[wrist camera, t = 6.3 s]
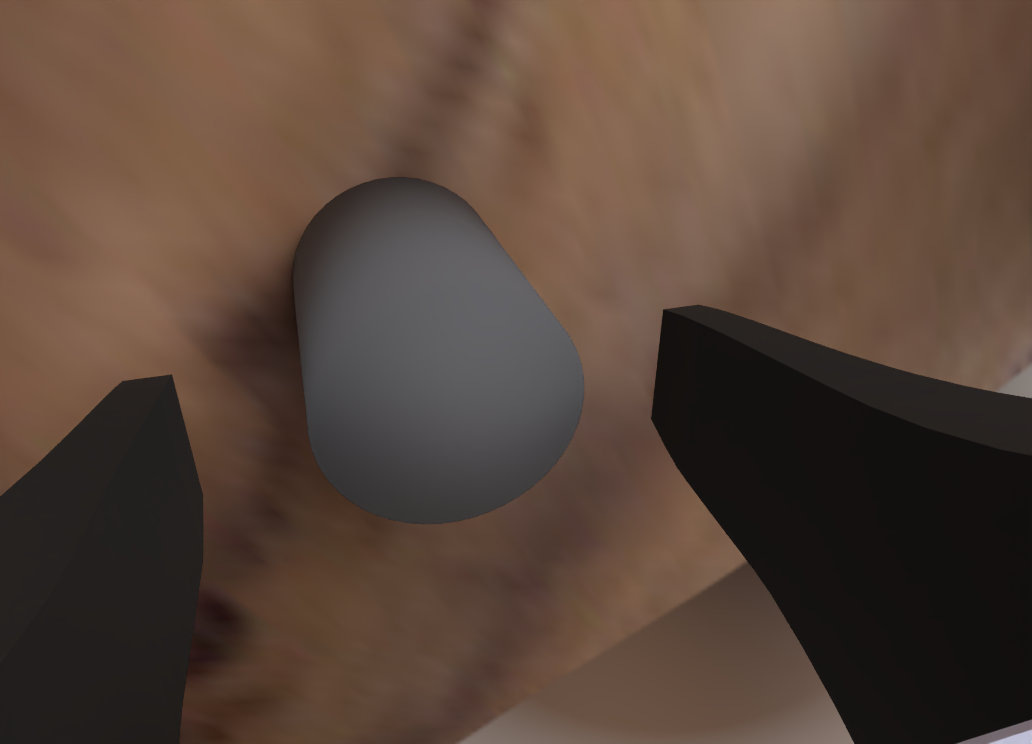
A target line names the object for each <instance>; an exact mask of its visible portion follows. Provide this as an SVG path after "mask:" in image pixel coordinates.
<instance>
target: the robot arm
mask: <svg viewBox="0 0 1032 744" xmlns="http://www.w3.org/2000/svg"><path fill="white" fill-rule="evenodd" d="M651 420H652V422H653V423H654V425H655V427H656V429H657V431H658V433H659V435H660V437H661V439H662V441H663V443H664V445H665V447H666V449H667V450H668V452H669V454H670V456H671V458H672V459H673V461H674V463H675V465H676V466H677V468H678V469H679V471H680V472H681V474H682V475H683V476H684V478H685V479H686V481H687V482H688V483H689V485H690V486H691V487H692V489H693V490H694V491H695V493H696V494H697V495H698V497H699V498H700V499H701V501H702V502H703V503H704V505H705V506H706V507H707V509H708V510H709V511H710V513H711V514H712V515H713V517H714V518H715V519H716V521H717V522H718V523H719V524H720V526H721V527H722V528H723V530H724V531H725V532H726V534H727V535H728V536H729V538H730V539H731V540H732V542H733V543H734V544H735V545H736V547H737V548H738V549H739V551H740V552H741V553H742V555H743V556H744V557H745V559H746V560H747V561H748V563H749V564H750V565H751V566H752V568H753V569H754V570H755V572H756V573H757V575H758V576H759V578H760V579H761V581H762V582H763V583H764V585H765V586H766V588H767V589H768V591H769V592H770V594H771V595H772V597H773V598H774V600H775V602H776V603H777V605H778V607H779V608H780V610H781V612H782V613H783V615H784V617H785V618H786V620H787V622H788V623H789V625H790V627H791V629H792V630H793V632H794V633H795V635H796V637H797V639H798V640H799V642H800V644H801V645H802V647H803V649H804V650H805V652H806V654H807V656H808V658H809V660H810V661H811V663H812V665H813V667H814V669H815V670H816V672H817V674H818V676H819V678H820V679H821V681H822V683H823V685H824V686H825V688H826V690H827V692H828V694H829V696H830V697H831V699H832V701H833V703H834V705H835V706H836V708H837V710H838V712H839V714H840V716H841V718H842V720H843V722H844V724H845V726H846V728H847V730H848V732H849V734H850V736H851V738H852V740H853V742H854V744H1032V398H1026V397H1020V396H1014V395H1009V394H1003V393H997V392H992V391H987V390H982V389H977V388H972V387H967V386H963V385H958V384H954V383H950V382H946V381H942V380H938V379H933V378H929V377H925V376H921V375H917V374H913V373H909V372H906V371H902V370H898V369H895V368H891V367H888V366H885V365H881V364H878V363H875V362H872V361H869V360H865V359H862V358H859V357H856V356H852V355H849V354H846V353H843V352H840V351H837V350H834V349H831V348H828V347H825V346H823V345H820V344H817V343H814V342H811V341H808V340H806V339H803V338H800V337H797V336H794V335H792V334H789V333H786V332H783V331H780V330H778V329H775V328H772V327H769V326H767V325H764V324H761V323H758V322H755V321H753V320H750V319H747V318H744V317H741V316H738V315H735V314H732V313H729V312H725V311H722V310H719V309H715V308H711V307H706V306H702V305H694V306H686V307H679V308H671V309H664V310H663V316H662V325H661V335H660V344H659V353H658V362H657V371H656V380H655V389H654V398H653V407H652V416H651ZM202 563H203V494H202V490H201V486H200V482H199V478H198V474H197V470H196V466H195V462H194V459H193V455H192V451H191V447H190V443H189V439H188V435H187V431H186V427H185V424H184V420H183V416H182V412H181V408H180V404H179V400H178V396H177V392H176V389H175V385H174V381H173V377H172V375H165V376H158V377H150V378H143V379H135V380H128V381H122V382H121V383H120V384H119V385H118V386H116V387H115V388H114V389H113V390H112V391H111V392H110V393H109V394H108V395H107V396H106V397H105V398H104V399H103V400H102V401H101V402H100V403H99V404H98V405H97V406H96V407H95V408H94V409H93V410H92V411H91V412H90V413H89V414H88V415H87V416H86V417H85V418H84V419H83V420H82V421H81V422H80V423H79V424H78V425H77V426H76V427H75V428H74V429H73V430H72V431H71V432H70V433H69V434H68V435H67V436H66V437H65V438H64V439H63V440H62V441H61V442H60V443H59V444H58V445H57V446H56V447H55V448H54V449H53V450H52V451H50V452H49V453H48V454H47V455H46V456H45V457H44V458H43V459H42V460H41V461H40V462H39V463H38V464H37V465H36V466H35V467H33V468H32V469H31V470H30V471H29V472H28V473H27V474H25V475H24V476H23V477H22V478H21V479H20V480H19V481H17V482H16V483H15V484H14V485H13V486H12V487H11V488H9V489H8V490H7V491H6V492H5V493H4V494H3V495H1V496H0V744H179V737H180V726H181V715H182V705H183V697H184V690H185V683H186V676H187V670H188V663H189V656H190V649H191V642H192V635H193V628H194V621H195V614H196V607H197V600H198V593H199V585H200V578H201V570H202Z"/></svg>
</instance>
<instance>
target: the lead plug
mask: <svg viewBox="0 0 1032 744" xmlns="http://www.w3.org/2000/svg"><path fill="white" fill-rule="evenodd" d="M292 278H293V290H294V300H295V310H296V320H297V329H298V339H299V349H300V359H301V368H302V378H303V388H304V397H305V407H306V417H307V427H308V436H309V441H310V445H311V449H312V452H313V455H314V457H315V459H316V462H317V464H318V466H319V468H320V469H321V471H322V472H323V474H324V476H325V477H326V479H327V480H328V481H329V482H330V483H331V484H332V486H333V487H334V488H335V489H336V490H337V491H338V492H339V493H340V494H342V495H343V496H344V497H345V498H346V499H348V500H349V501H350V502H352V503H353V504H355V505H357V506H358V507H360V508H362V509H364V510H366V511H368V512H370V513H372V514H375V515H377V516H380V517H383V518H387V519H390V520H394V521H399V522H405V523H414V524H442V523H449V522H456V521H461V520H465V519H469V518H473V517H476V516H479V515H482V514H485V513H488V512H490V511H492V510H495V509H497V508H499V507H501V506H503V505H505V504H507V503H509V502H510V501H512V500H514V499H515V498H517V497H519V496H520V495H522V494H523V493H524V492H526V491H527V490H529V489H530V488H531V487H533V486H534V485H535V484H536V483H537V482H538V481H539V480H540V479H542V478H543V477H544V476H545V475H546V474H547V473H548V471H549V470H550V469H551V468H552V467H553V466H554V465H555V464H556V462H557V461H558V460H559V458H560V457H561V455H562V454H563V453H564V451H565V450H566V448H567V446H568V444H569V443H570V441H571V439H572V437H573V435H574V432H575V430H576V427H577V425H578V422H579V419H580V415H581V411H582V406H583V398H584V377H583V371H582V365H581V361H580V358H579V355H578V352H577V350H576V348H575V346H574V344H573V342H572V340H571V338H570V336H569V335H568V333H567V332H566V331H565V329H564V328H563V327H562V325H561V324H560V323H559V321H558V320H557V319H556V317H555V316H554V315H553V313H552V312H551V311H550V309H549V308H548V307H547V305H546V304H545V303H544V301H543V300H542V299H541V297H540V296H539V295H538V293H537V292H536V291H535V289H534V288H533V287H532V285H531V284H530V283H529V281H528V280H527V279H526V277H525V276H524V275H523V273H522V272H521V271H520V270H519V268H518V267H517V266H516V264H515V263H514V262H513V260H512V259H511V258H510V256H509V255H508V254H507V252H506V251H505V250H504V248H503V247H502V246H501V244H500V243H499V242H498V240H497V239H496V238H495V236H494V235H493V234H492V232H491V231H490V230H489V228H488V227H487V226H486V224H485V223H484V222H483V220H482V219H481V218H480V216H479V215H478V214H477V212H476V211H475V210H474V209H473V208H472V207H471V206H470V205H469V204H468V203H467V202H466V201H465V200H463V199H462V198H461V197H459V196H458V195H457V194H455V193H453V192H452V191H450V190H448V189H446V188H445V187H442V186H440V185H437V184H435V183H432V182H429V181H425V180H421V179H415V178H406V177H391V178H383V179H377V180H373V181H369V182H366V183H362V184H360V185H357V186H355V187H353V188H350V189H348V190H347V191H345V192H343V193H341V194H340V195H338V196H336V197H335V198H334V199H333V200H331V201H330V202H329V203H327V204H326V205H325V206H324V207H323V208H322V209H321V210H320V211H319V212H318V213H317V214H316V215H315V217H314V218H313V219H312V221H311V222H310V223H309V225H308V226H307V228H306V230H305V231H304V233H303V235H302V237H301V239H300V242H299V244H298V247H297V250H296V254H295V258H294V263H293V276H292Z"/></svg>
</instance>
